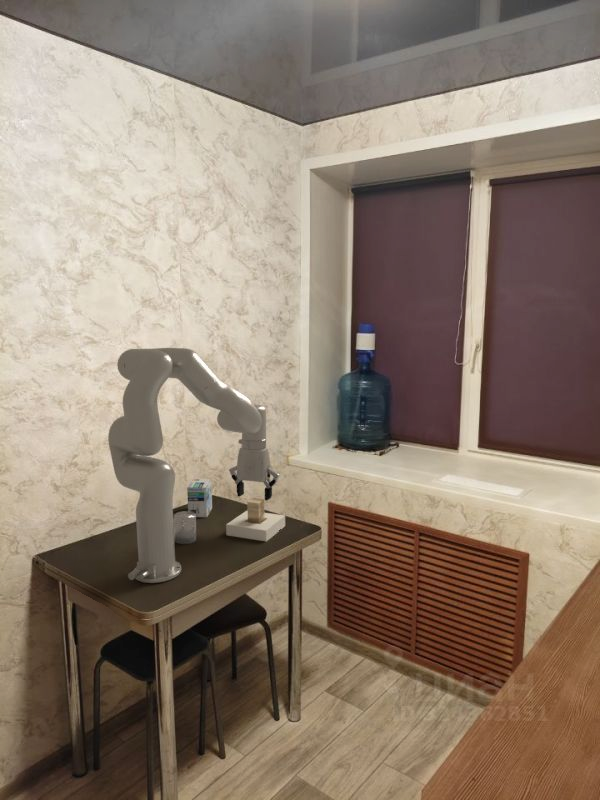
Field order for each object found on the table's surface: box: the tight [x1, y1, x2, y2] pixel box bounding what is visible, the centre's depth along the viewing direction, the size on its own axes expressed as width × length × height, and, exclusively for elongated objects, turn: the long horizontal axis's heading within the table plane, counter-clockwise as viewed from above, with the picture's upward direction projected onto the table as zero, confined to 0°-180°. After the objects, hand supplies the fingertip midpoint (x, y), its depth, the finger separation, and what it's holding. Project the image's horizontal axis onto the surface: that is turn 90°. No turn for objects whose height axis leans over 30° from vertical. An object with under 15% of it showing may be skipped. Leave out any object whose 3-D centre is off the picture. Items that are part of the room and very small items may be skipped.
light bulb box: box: [186, 478, 213, 518], centre depth 203 cm, size 11×7×11 cm, turn 179°
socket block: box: [225, 509, 286, 542], centre depth 186 cm, size 14×14×4 cm
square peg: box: [246, 497, 266, 524], centre depth 185 cm, size 4×4×10 cm
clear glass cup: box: [173, 510, 197, 545], centre depth 178 cm, size 7×7×8 cm
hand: (254, 497), depth 184 cm, fingers open, 9 cm apart
